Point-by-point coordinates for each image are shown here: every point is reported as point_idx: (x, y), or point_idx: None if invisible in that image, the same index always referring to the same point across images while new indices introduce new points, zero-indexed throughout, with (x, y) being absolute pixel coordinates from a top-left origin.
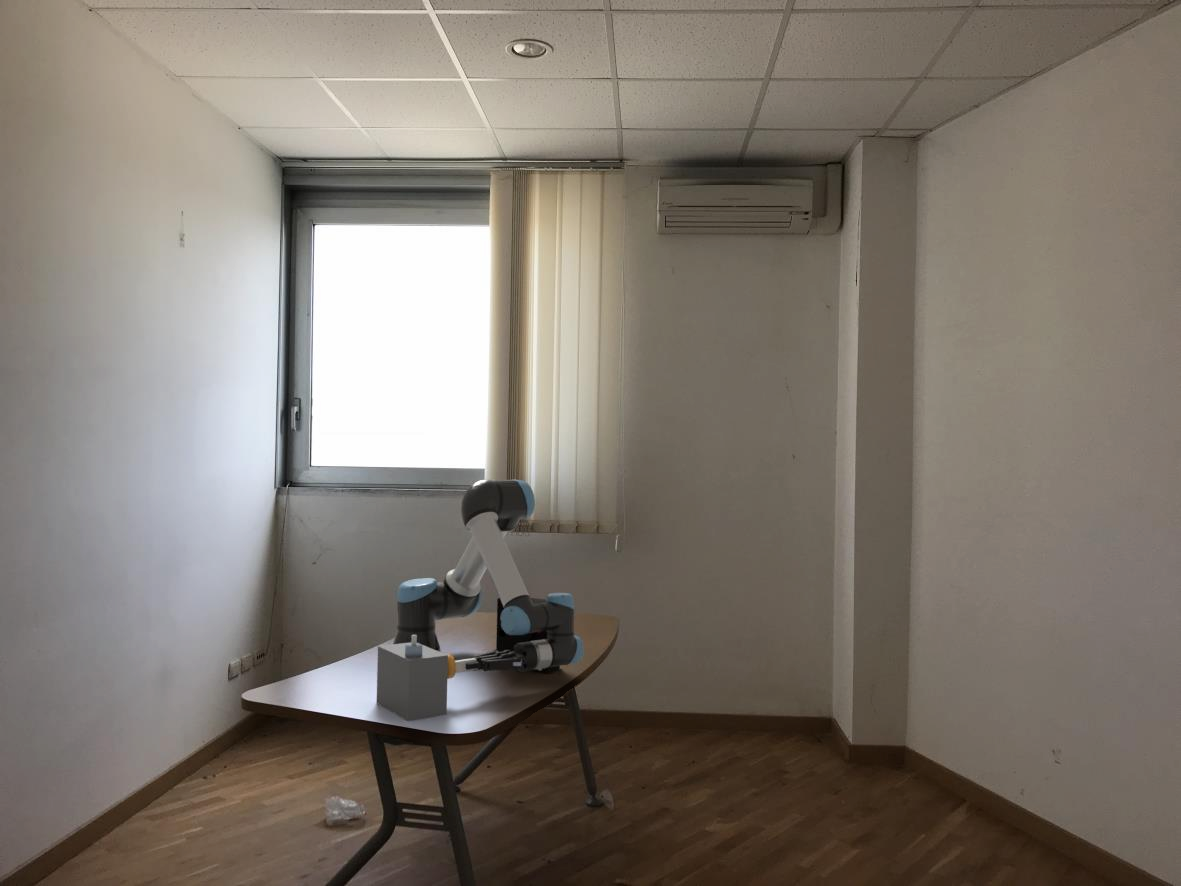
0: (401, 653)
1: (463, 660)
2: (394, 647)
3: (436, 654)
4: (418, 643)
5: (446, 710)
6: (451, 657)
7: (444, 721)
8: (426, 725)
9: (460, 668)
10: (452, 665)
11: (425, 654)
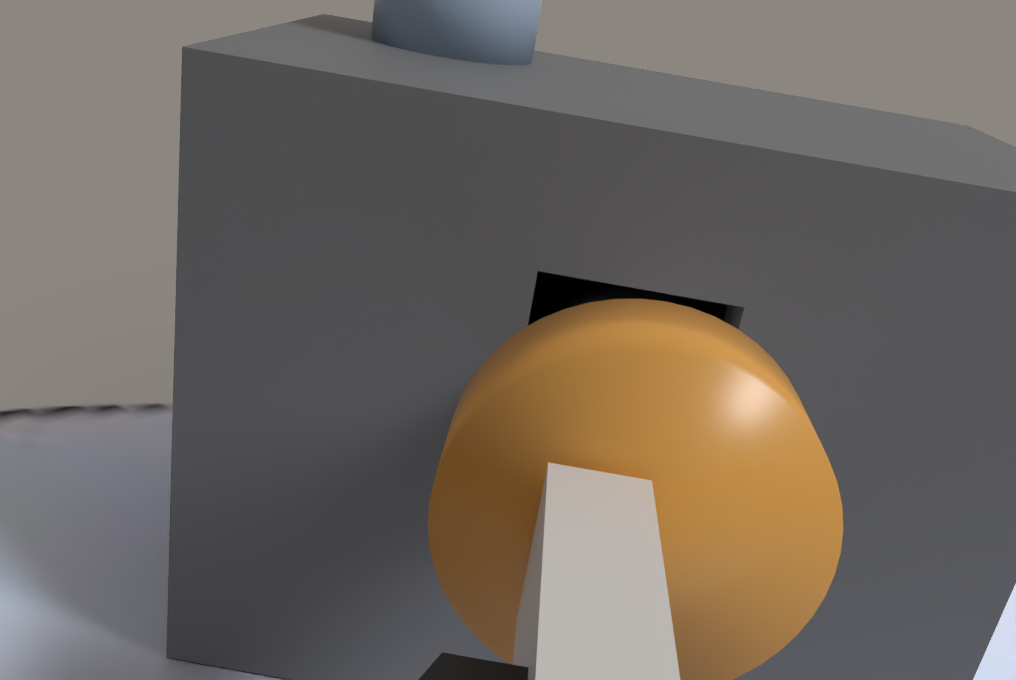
0: (591, 66)
1: (585, 603)
2: (869, 120)
3: (328, 56)
4: None
5: (168, 626)
6: (548, 346)
7: (36, 549)
8: (102, 457)
9: (519, 654)
10: (451, 426)
11: (412, 56)
